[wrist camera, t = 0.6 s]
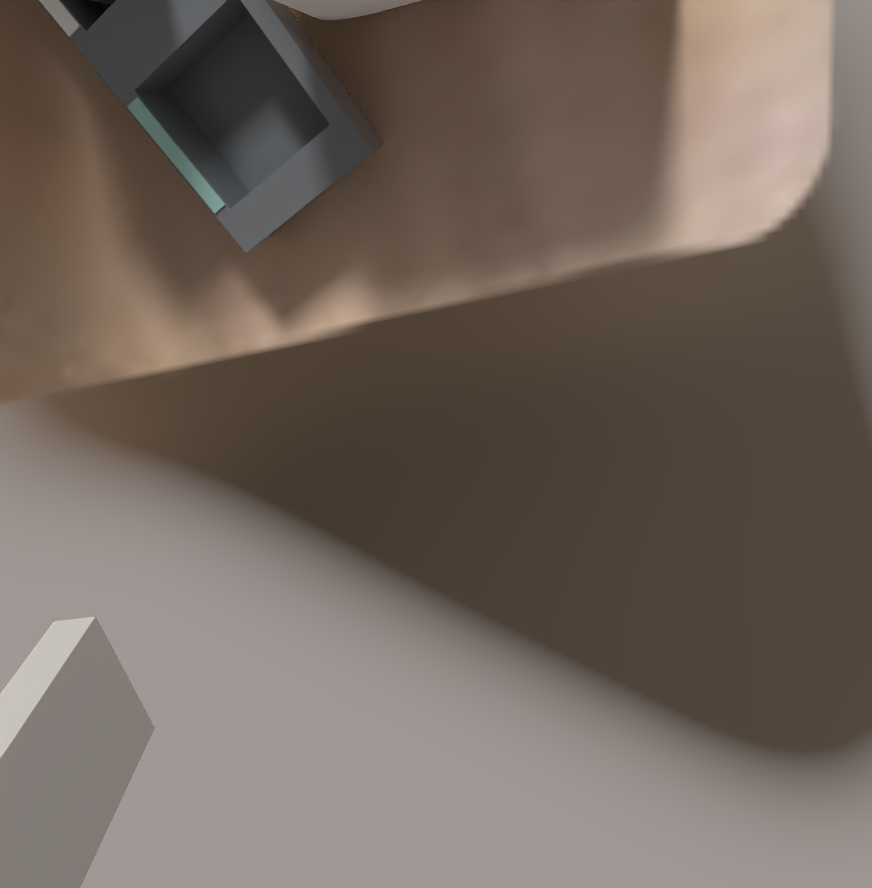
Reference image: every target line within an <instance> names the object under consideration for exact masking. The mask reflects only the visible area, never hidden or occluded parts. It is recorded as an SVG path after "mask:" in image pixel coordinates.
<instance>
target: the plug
mask: <svg viewBox="0 0 872 888" xmlns="http://www.w3.org/2000/svg"><path fill="white" fill-rule="evenodd" d="M93 1H97V2H102V3H106V4H111V5H112V4H113V3H114V2H115V1H116V0H93Z"/></svg>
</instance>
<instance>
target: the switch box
mask: <svg viewBox="0 0 872 888" xmlns="http://www.w3.org/2000/svg"><path fill="white" fill-rule="evenodd" d="M37 1H38V2H39V3H40V4H41V6H42V7H43V8H44V9H45V10H46V12H47V13H48V14H49V15H50V16H51V18H52V19H53V20H54V21H55V23H56V24H57V25H58V26H59V27H60V29H61V30H62V31H63V32H64V33H65V35H66V36H67V37H68V38H69V40H70V41H71V42H72V43H73V44H74V46H75V47H76V48H77V49H78V50H79V52H80V53H81V54H82V55H83V56H84V58H85V59H86V60H87V61H88V63H89V64H90V65H91V66H92V67H93V69H94V70H95V71H96V72H97V73H98V75H99V76H100V77H101V78H102V80H103V81H104V82H105V83H106V84H107V86H108V87H109V88H110V89H111V90H112V92H113V93H114V94H115V95H116V97H117V98H118V99H119V100H120V101H121V103H122V104H123V105H124V106H125V107H126V109H127V110H128V111H129V112H130V113H131V115H132V116H133V117H134V118H135V120H136V121H137V122H138V123H139V124H140V126H141V127H142V128H143V129H144V130H145V132H146V133H147V134H148V135H149V137H150V138H151V139H152V140H153V141H154V143H155V144H156V145H157V146H158V147H159V149H160V150H161V151H162V152H163V154H164V155H165V156H166V157H167V158H168V160H169V161H170V162H171V163H172V164H173V166H174V167H175V168H176V169H177V170H178V172H179V173H180V174H181V175H182V177H183V178H184V179H185V180H186V181H187V183H188V184H189V185H190V186H191V187H192V189H193V190H194V191H195V192H196V194H197V195H198V196H199V197H200V198H201V200H202V201H203V202H204V203H205V204H206V206H207V207H208V208H209V209H210V210H211V212H212V213H213V214H214V215H215V217H216V218H217V219H218V220H219V221H220V223H221V224H222V225H223V226H224V227H225V229H226V230H227V231H228V232H229V234H230V235H231V236H232V237H233V238H234V240H235V241H236V242H237V243H238V244H239V246H240V247H241V248H242V249H243V251H244V252H245V253H247V252H249V251H250V250H251V249H253V248H254V247H255V246H257V245H258V244H259V243H261V242H262V241H263V240H265V239H266V238H267V237H269V236H270V235H271V234H272V233H274V232H275V231H276V230H277V229H279V228H280V227H281V226H282V225H284V224H285V223H286V222H287V221H288V220H290V219H291V218H292V217H293V216H295V215H296V214H297V213H298V212H300V211H301V210H302V209H303V208H305V207H306V206H307V205H308V204H309V203H311V202H312V201H313V200H314V199H316V198H317V197H318V196H319V195H321V194H322V193H323V192H324V191H326V190H327V189H328V188H329V187H331V186H332V185H333V184H334V183H335V182H337V181H338V180H339V179H340V178H342V177H343V176H344V175H345V174H347V173H348V172H349V171H350V170H352V169H353V168H354V167H355V166H356V165H358V164H359V163H360V162H361V161H363V160H364V159H365V158H366V157H368V156H369V155H370V154H371V153H373V152H374V151H375V150H376V149H377V148H379V147H380V146H381V145H382V144H383V143H382V141H381V140H380V138H379V137H378V135H377V134H376V133H375V131H374V130H373V128H372V127H371V125H370V124H369V123H368V121H367V120H366V118H365V117H364V115H363V114H362V112H361V111H360V110H359V108H358V107H357V105H356V104H355V102H354V101H353V100H352V98H351V97H350V95H349V94H348V92H347V91H346V90H345V88H344V87H343V85H342V84H341V82H340V81H339V79H338V78H337V77H336V75H335V74H334V72H333V71H332V69H331V68H330V67H329V65H328V64H327V62H326V61H325V59H324V58H323V57H322V55H321V54H320V52H319V51H318V49H317V48H316V46H315V45H314V44H313V42H312V41H311V39H310V38H309V36H308V35H307V34H306V32H305V31H304V29H303V28H302V26H301V25H300V24H299V22H298V21H297V19H296V18H295V16H294V15H293V13H292V12H291V11H290V9H289V8H288V6H286V5H284V4H281V3H279V2H276V1H274V0H116V1H115V2H114V3H113V4H112V5H111V4H106V3H102V2H97V1H93V0H37Z"/></svg>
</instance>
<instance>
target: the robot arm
mask: <svg viewBox="0 0 872 888" xmlns="http://www.w3.org/2000/svg"><path fill="white" fill-rule="evenodd" d="M153 730H154V726H153V724H152V722H151V720H150V718H149V716H148V715H147V713H146V711H145V709H144V707H143V705H142V703H141V701H140V700H139V698H138V696H137V694H136V692H135V690H134V688H133V686H132V684H131V682H130V681H129V679H128V677H127V675H126V673H125V671H124V669H123V667H122V665H121V664H120V662H119V660H118V658H117V656H116V654H115V652H114V650H113V648H112V646H111V645H110V643H109V641H108V639H107V637H106V635H105V633H104V631H103V630H102V628H101V626H100V624H99V622H98V620H97V618H96V616H94V617H86V618H78V619H69V620H60V621H54V622H53V623H52V624H51V626H50V627H49V629H48V630H47V631H46V632H45V634H44V635H43V637H42V638H41V639H40V641H39V642H38V643H37V645H36V646H35V647H34V649H33V650H32V652H31V653H30V654H29V656H28V657H27V658H26V660H25V661H24V662H23V664H22V665H21V666H20V668H19V669H18V670H17V672H16V673H15V674H14V676H13V677H12V679H11V680H10V681H9V683H8V684H7V685H6V687H5V688H4V689H3V691H2V692H1V694H0V888H80V886H81V884H82V882H83V880H84V878H85V875H86V873H87V871H88V869H89V867H90V865H91V863H92V860H93V858H94V856H95V854H96V852H97V849H98V848H99V845H100V843H101V841H102V839H103V837H104V835H105V832H106V830H107V828H108V826H109V824H110V822H111V820H112V818H113V816H114V813H115V811H116V809H117V807H118V805H119V803H120V801H121V798H122V796H123V794H124V792H125V790H126V788H127V785H128V783H129V781H130V779H131V777H132V775H133V773H134V770H135V768H136V766H137V764H138V762H139V760H140V758H141V756H142V753H143V751H144V749H145V747H146V745H147V743H148V741H149V738H150V736H151V734H152V732H153Z"/></svg>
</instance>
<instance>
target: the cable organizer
mask: <svg viewBox="0 0 872 888" xmlns="http://www.w3.org/2000/svg"><path fill="white" fill-rule="evenodd" d="M274 1H276V2H279V3H281V4H284V5H286V6H288V7H291V8H293V9H296V10H298V11H300V12H303V13H305V14H307V15H310V16H312V17H315V18H317V19H321V20H340V19H348V18H354V17H359V16H364V15H369V14H373V13H377V12H381V11H385V10H388V9H392V8H396V7H399V6H403V5H407V4H410V3H414V2H418V1H421V0H274Z"/></svg>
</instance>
